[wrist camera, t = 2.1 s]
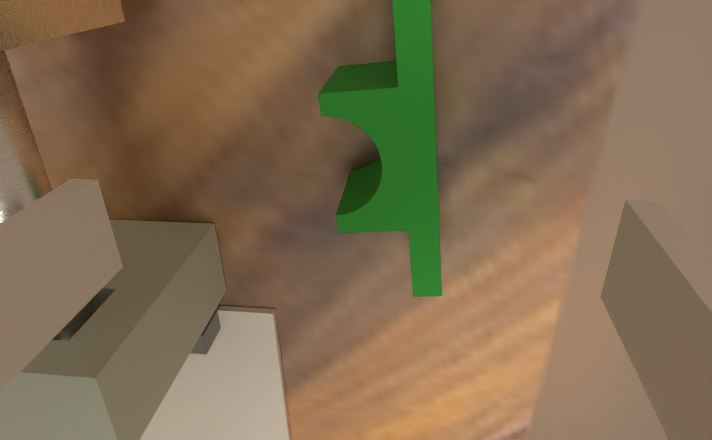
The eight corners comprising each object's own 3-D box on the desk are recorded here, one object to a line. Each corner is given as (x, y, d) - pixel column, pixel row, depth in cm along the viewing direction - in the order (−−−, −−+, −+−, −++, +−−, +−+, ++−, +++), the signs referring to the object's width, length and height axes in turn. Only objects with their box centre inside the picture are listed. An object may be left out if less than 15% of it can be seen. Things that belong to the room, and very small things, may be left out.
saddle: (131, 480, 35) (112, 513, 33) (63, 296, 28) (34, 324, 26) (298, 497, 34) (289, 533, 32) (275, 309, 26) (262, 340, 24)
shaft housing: (101, 283, 27) (-55, 444, 18) (80, 218, 25) (-106, 362, 16) (226, 290, 26) (126, 462, 17) (214, 223, 24) (95, 378, 15)
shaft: (81, 336, 25) (-55, 488, 18) (-50, -24, 17) (-378, -7, 10) (197, 344, 24) (104, 506, 17) (114, -28, 16) (-117, -11, 9)
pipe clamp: (328, -16, 19) (302, -9, 15) (429, -28, 18) (430, -23, 14) (360, 241, 24) (347, 299, 20) (439, 239, 23) (442, 298, 19)
